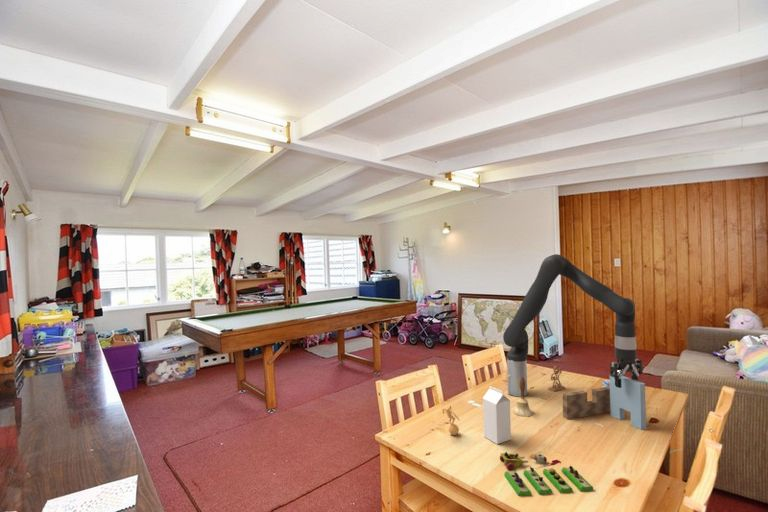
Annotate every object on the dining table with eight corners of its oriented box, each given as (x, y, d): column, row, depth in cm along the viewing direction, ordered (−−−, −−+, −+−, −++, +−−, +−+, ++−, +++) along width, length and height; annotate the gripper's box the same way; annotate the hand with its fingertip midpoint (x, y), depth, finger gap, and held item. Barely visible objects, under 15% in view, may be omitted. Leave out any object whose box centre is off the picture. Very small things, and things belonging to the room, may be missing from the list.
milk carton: (497, 444, 137) (495, 393, 136) (483, 436, 143) (482, 387, 143) (511, 439, 140) (509, 389, 140) (497, 432, 146) (496, 384, 146)
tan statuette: (554, 391, 187) (553, 368, 187) (547, 389, 190) (547, 366, 190) (565, 388, 191) (564, 365, 191) (558, 386, 194) (558, 363, 194)
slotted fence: (567, 419, 156) (566, 395, 156) (563, 416, 158) (562, 393, 158) (616, 410, 163) (615, 388, 163) (611, 408, 165) (610, 386, 165)
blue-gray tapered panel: (646, 429, 145) (645, 383, 145) (641, 430, 145) (640, 384, 145) (615, 414, 159) (614, 372, 159) (610, 415, 158) (609, 373, 158)
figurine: (465, 436, 143) (464, 405, 143) (455, 441, 139) (454, 410, 139) (449, 429, 150) (448, 399, 150) (439, 433, 146) (438, 403, 146)
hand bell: (537, 414, 161) (536, 378, 161) (521, 418, 158) (520, 380, 158) (523, 407, 169) (522, 372, 169) (508, 410, 166) (508, 375, 166)
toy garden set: (518, 498, 107) (518, 482, 107) (493, 461, 126) (493, 448, 126) (593, 492, 109) (593, 476, 109) (557, 457, 128) (557, 444, 128)
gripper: (619, 350, 146) (621, 391, 146) (647, 347, 150) (648, 387, 150) (603, 346, 154) (605, 385, 154) (630, 343, 157) (632, 381, 157)
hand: (626, 386), depth 152 cm, fingers open, 8 cm apart
